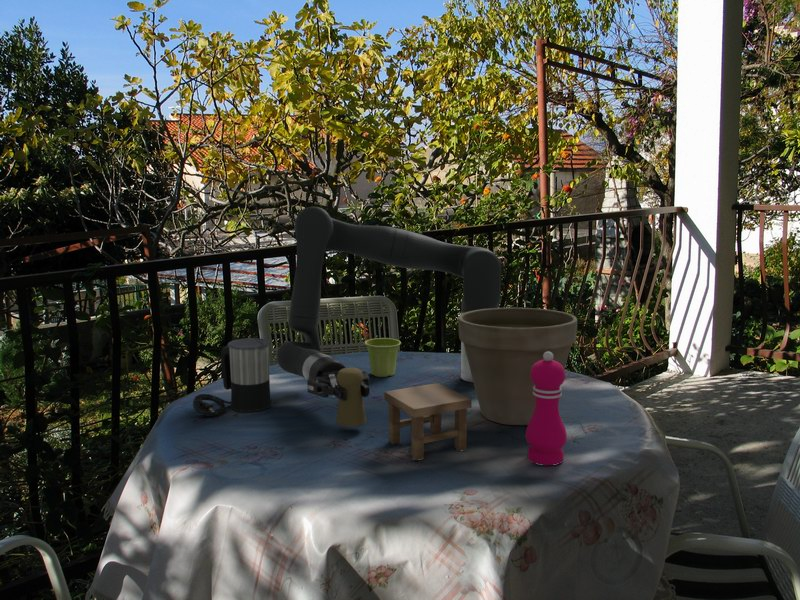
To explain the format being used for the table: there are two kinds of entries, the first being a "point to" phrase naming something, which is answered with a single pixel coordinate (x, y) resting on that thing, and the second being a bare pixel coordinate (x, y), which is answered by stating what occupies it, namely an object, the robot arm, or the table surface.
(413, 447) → the footstool
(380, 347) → the plant pot
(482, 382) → the plant pot
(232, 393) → the milk frother
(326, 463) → the table surface
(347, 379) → the cork
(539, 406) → the pepper mill
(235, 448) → the table surface
